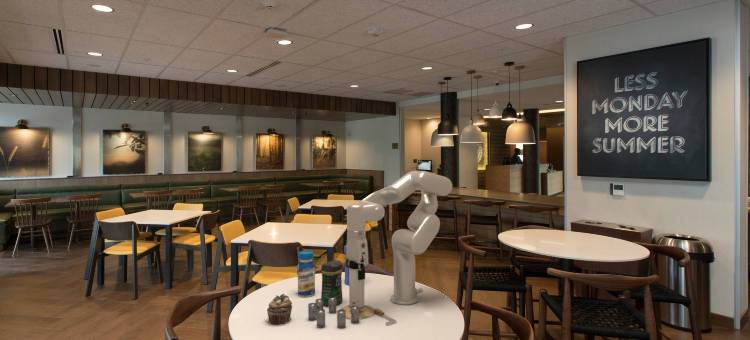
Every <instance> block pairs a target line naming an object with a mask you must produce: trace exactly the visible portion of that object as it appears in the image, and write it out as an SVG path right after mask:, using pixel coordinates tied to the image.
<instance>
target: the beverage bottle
mask: <svg viewBox="0 0 750 340" xmlns="http://www.w3.org/2000/svg"><path fill="white" fill-rule="evenodd" d="M298 260H299V262H298V263H297V272H296V274H297V295H298V296H299V297H300V298H309V297H313V296H314V295H315V294H316V269H315V267H316V265H315V262H314V261H313V260H314V252H313V250H302V251H299V252H298Z"/></svg>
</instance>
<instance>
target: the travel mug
mask: <svg viewBox="0 0 750 340" xmlns="http://www.w3.org/2000/svg"><path fill="white" fill-rule="evenodd" d="M360 262H363V261H360ZM360 265H361V266H362V264H360ZM358 270H359V268H358V263H356V262H353V261H349V286H348V289H349V291H348V292H349V293H348V296H349V299H348V300H349V305H348V306H349V307H350V308H351V306H354V305H357V306H359V310H360V309H363V308H364V307H365V305H366V304H365V279H363V280H358Z"/></svg>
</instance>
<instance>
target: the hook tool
mask: <svg viewBox="0 0 750 340" xmlns="http://www.w3.org/2000/svg"><path fill="white" fill-rule="evenodd" d="M373 309H374V312H375V313H374V315H377V316H379V317H380V316H381V318H383V317H384V319H385V320H388V321H387V322H385V326H390V325H393V324H396V323H397V320H396V319H395V318H392V317H391V316H389V315H387V314H385V311H383V310H381V309H380V308H373Z"/></svg>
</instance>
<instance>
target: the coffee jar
mask: <svg viewBox="0 0 750 340" xmlns="http://www.w3.org/2000/svg"><path fill="white" fill-rule="evenodd" d="M320 272H321V280H322V281H321V293H320V296H321V297H320V299H323V307H324V306H325V307H329V297H336V306H337V305H340V304H341V303H342V302H343V285H342V284H343V283H342V281H343V280H342V279H343V278H342V275H343V263H342V260H338V259H337V260H336V259H333V260H330V261H328V262H325V263H323V264H321V268H320Z"/></svg>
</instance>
